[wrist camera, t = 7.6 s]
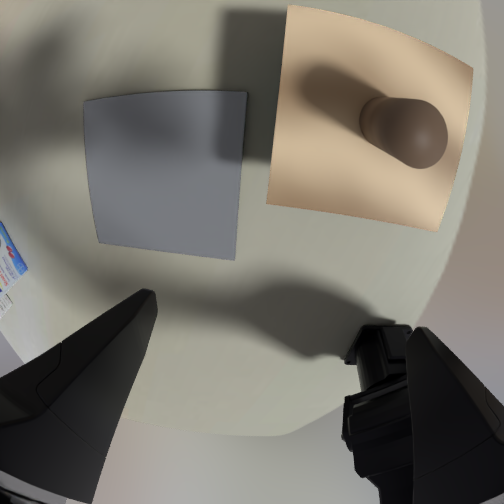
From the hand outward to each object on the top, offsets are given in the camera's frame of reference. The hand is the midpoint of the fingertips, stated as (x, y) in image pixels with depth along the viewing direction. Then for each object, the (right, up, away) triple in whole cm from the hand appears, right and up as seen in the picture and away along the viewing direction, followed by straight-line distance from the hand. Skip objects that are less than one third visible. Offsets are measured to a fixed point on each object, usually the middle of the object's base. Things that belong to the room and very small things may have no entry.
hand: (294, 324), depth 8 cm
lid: (+6, +9, +4) cm, 12 cm away
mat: (-9, +8, +11) cm, 16 cm away
